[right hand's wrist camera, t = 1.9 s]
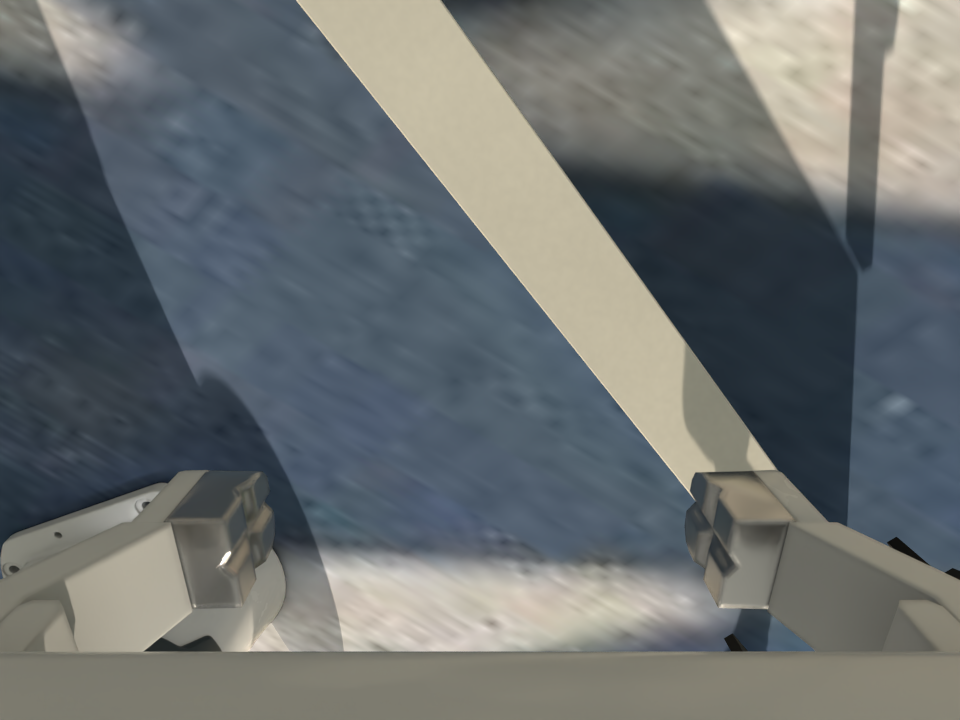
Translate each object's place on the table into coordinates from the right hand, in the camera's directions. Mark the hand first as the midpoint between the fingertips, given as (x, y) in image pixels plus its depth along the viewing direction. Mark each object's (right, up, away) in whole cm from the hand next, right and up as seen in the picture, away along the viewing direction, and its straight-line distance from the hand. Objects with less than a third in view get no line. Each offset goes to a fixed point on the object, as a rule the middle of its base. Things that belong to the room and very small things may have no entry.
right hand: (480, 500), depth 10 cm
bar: (+10, +5, +29) cm, 31 cm away
